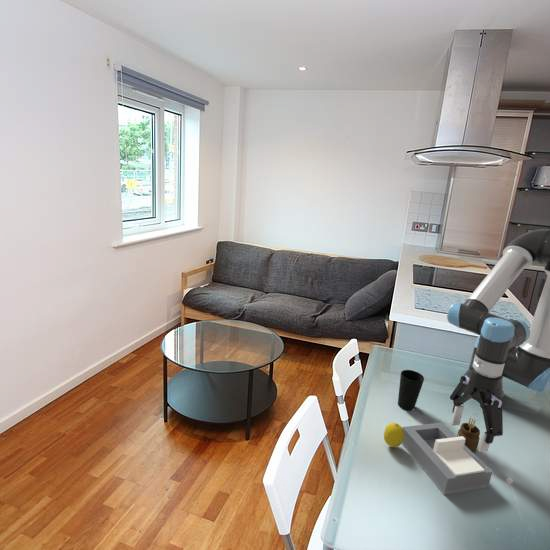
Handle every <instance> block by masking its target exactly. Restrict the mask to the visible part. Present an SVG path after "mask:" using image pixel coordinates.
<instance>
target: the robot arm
mask: <svg viewBox="0 0 550 550" xmlns="http://www.w3.org/2000/svg"><path fill="white" fill-rule="evenodd" d="M534 263H539V264H541V265H545V266H544V269H543V271H544V272H545V274H546V276H547V277H546V280H545V282H544V286H543V289H542V291H541V295H540V297H539V299H538V300H539V301H538V303H537V306H536V309H535V312H534V314H533V318H532V320H531V325H530V327H529V325H528V324H527V323H526V322H525V321H523V320H522V319H518V318H510V319H508V318H504V317H501V316H499V315H497V314H496V315H495V314H493V313H490V312H491V311H492V310H493V308H494V307H495V306H496V304H498V302H499V301H500V300H501V298H502V297H503V296H504V294H505V293H506V292H507V290H508V289H509V288H510V287H511V286H512V284H513V283H514V282H515V281H516V279H517V278H518V277H519V275H520V274H521V273H522V272H523V270H524V269H526V268H529V267H530V266H532V264H534ZM446 318H447V319H446V320H447V322H448V323H449V324H451V325H452V326H455V327H456V328H458V329H463V330H465V331H467V332H470V333H473V334H475V335H478V336H477V338H476V339H475V340H476V341H475V343H474V344H473V350H472V354H471V358H470V363H469V367H468V369H467V370H466V371H465V373H463V374H464V375H462V376H460V378H459V379H460V380H459V383H458V384H457V386H456V387H455V389H454V390H453V391H452V393H451V394H450V396H449V399H450V401H451V400H452V401H453V402H452V403H453V407H452V418H451V420H450V426H459V425H460V423H461V420H462V416H463V413H464V408H465V406H464V404H465V403H466V402H467V401H469V400H471V399H473V400H476V402H477V403H479V407H480V408H481V409H482V410H481V411H482V415H483V420H484V425H485V429H486V430H483V431H482V435H481V439H480V440H479V444H478V447H477V451H478V452H479V453H480V452H487V451H489V448H490V444H493V442H494V438H495V437H500V436H501V437H503V434H504V431H503V430H504V427H503V426H504V425H503V408H504V405H505V401H504V400H503V399H504V394H505V393H504V389H503V388H504V386H503V385H504V382H503V379H504V378H505V379H508V380H511V381H512V382H514V383H516V384H519V385H521V386H524V387H525V388H527V389H530V390H532V391H534V392H535V391H536V392H537V393H544V392H546V391H548V390H549V389H550V229H548V228H539V229H535V230H531V231H528V232H525V233H524V234H523V233H522V234H521V235H519V236H517V237H516V238H515V239H513V240H512V241H510V242H509V243H508V244H507V245H506V246H505V248H504V249H503V250H502V257H500V259H499V260H498V261H497V262H496V264H495V265H494V266H493V267H492V268H491V270H490V271H489V272H488V273H487V275H486V276H485V277H484V279H483V280H482V281H481V282H480V284H479V285H478V286H477V287H476V288H475V289H474V291H473V292H472V293H471V294H470V296H469V297H468V298H467V299H466V300H465V301H464V302H463V303H462V302H457V301H456V302H454V303H452V304H451V305H450V306H449V308H448V311H447V313H446Z"/></svg>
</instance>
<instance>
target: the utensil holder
mask: <svg viewBox="0 0 550 550" xmlns="http://www.w3.org/2000/svg"><path fill="white" fill-rule="evenodd" d="M473 415H475V416H474V417H473ZM476 416H477V418H476ZM472 417H473V418H472ZM479 418H480V417H479V415H478V414H477V413H473V412H472V413H471V416H470V417H469V419H468V422H463V423H461V425H460V428H459V429H458V431H457V434H456V437H460V436H463V437H464V438H465V439H466V440H465V444H464V445H465V446H466V447H467V448H468V449H470V450H471V451H472V452H473V453H474V454H475V453H476V452H477V451H478V448H479V445H480V434H481V430H480V428H479V427H477V425H478V423H479V421H480V420H479Z"/></svg>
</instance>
